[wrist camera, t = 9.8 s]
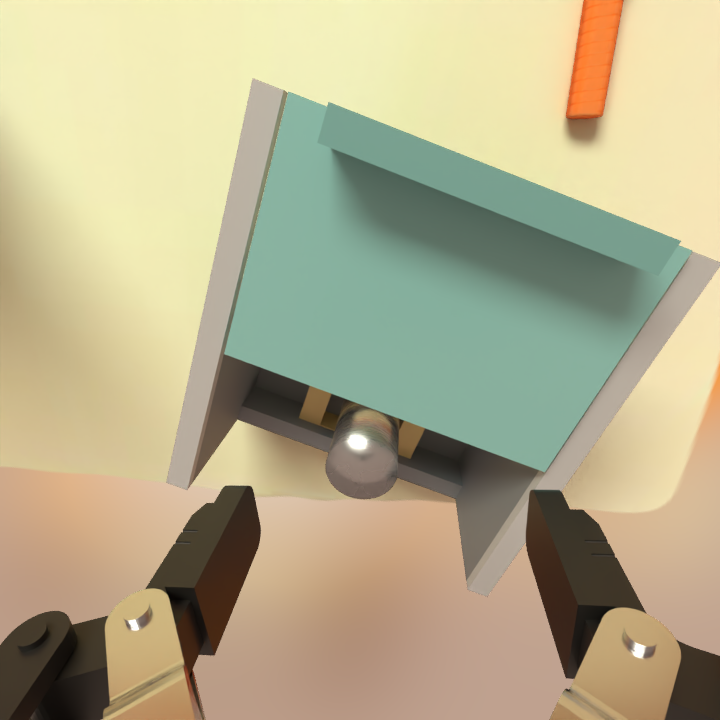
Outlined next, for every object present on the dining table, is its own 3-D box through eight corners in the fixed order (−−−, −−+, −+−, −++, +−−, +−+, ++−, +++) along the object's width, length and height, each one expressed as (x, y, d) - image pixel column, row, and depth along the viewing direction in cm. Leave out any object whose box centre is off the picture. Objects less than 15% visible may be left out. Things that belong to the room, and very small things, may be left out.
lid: (230, 347, 21) (200, 377, 18) (294, 95, 17) (267, 77, 14) (540, 462, 22) (561, 509, 19) (680, 247, 17) (737, 263, 14)
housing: (240, 391, 35) (165, 486, 24) (315, 115, 27) (252, 78, 16) (463, 472, 36) (484, 600, 25) (602, 228, 28) (721, 263, 17)
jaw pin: (358, 362, 32) (340, 428, 24) (409, 383, 32) (409, 456, 24) (338, 406, 33) (315, 483, 25) (387, 426, 34) (380, 508, 25)
